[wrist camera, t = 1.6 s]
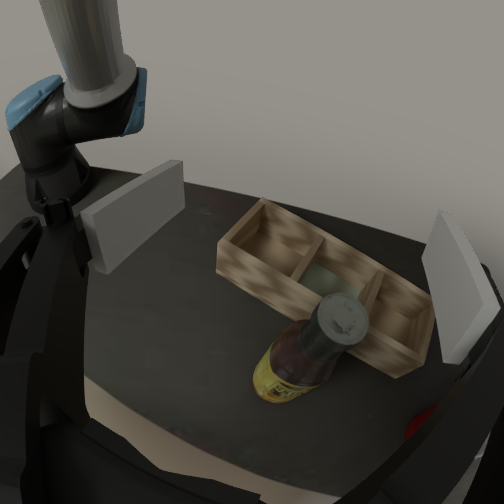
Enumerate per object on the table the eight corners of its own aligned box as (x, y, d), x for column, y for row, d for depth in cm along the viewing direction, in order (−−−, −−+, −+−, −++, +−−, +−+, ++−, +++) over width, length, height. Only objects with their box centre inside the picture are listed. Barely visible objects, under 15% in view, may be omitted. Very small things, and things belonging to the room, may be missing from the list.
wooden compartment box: (216, 272, 42) (217, 242, 37) (255, 227, 48) (262, 197, 43) (395, 378, 35) (423, 364, 30) (413, 321, 41) (438, 300, 36)
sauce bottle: (257, 409, 31) (307, 377, 16) (245, 363, 35) (279, 286, 19) (307, 397, 33) (393, 349, 17) (294, 353, 36) (361, 272, 21)
